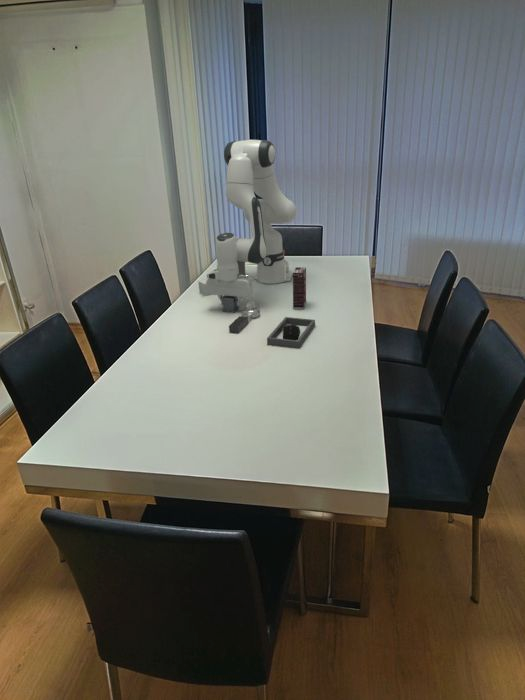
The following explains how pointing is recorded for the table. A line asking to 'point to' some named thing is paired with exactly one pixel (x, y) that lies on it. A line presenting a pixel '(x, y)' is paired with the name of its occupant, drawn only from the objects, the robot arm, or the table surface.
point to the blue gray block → (229, 304)
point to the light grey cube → (203, 288)
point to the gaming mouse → (291, 332)
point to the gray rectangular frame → (285, 342)
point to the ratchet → (245, 318)
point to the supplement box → (299, 288)
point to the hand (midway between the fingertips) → (230, 305)
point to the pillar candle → (241, 267)
